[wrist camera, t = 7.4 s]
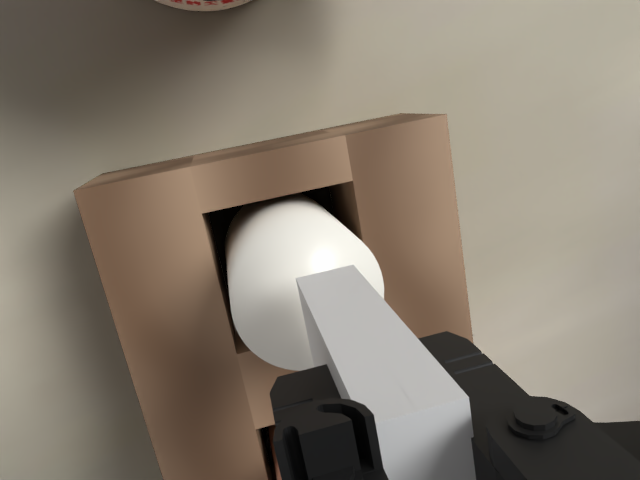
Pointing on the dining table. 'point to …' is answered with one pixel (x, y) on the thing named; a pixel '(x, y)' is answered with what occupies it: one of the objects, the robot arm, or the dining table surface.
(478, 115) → the dining table surface
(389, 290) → the wooden egg holder
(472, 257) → the dining table surface
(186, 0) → the teacup with lid
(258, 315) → the white egg
